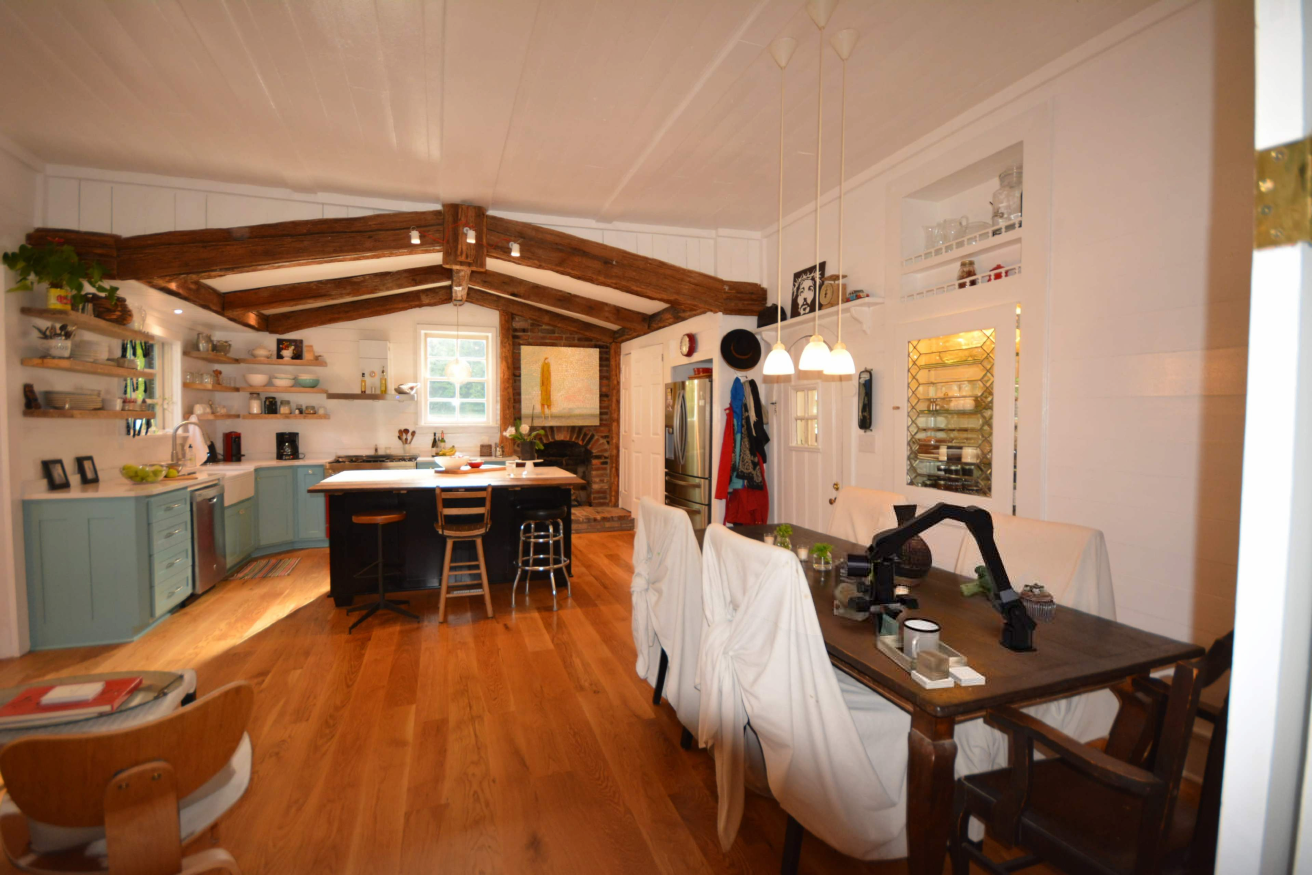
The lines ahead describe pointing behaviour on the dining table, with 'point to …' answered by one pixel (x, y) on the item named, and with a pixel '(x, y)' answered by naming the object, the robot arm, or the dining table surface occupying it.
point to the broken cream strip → (952, 678)
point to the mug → (920, 635)
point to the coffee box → (847, 593)
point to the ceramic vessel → (911, 552)
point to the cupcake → (1038, 602)
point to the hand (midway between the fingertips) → (882, 632)
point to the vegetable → (979, 583)
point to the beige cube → (932, 665)
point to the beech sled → (891, 640)
